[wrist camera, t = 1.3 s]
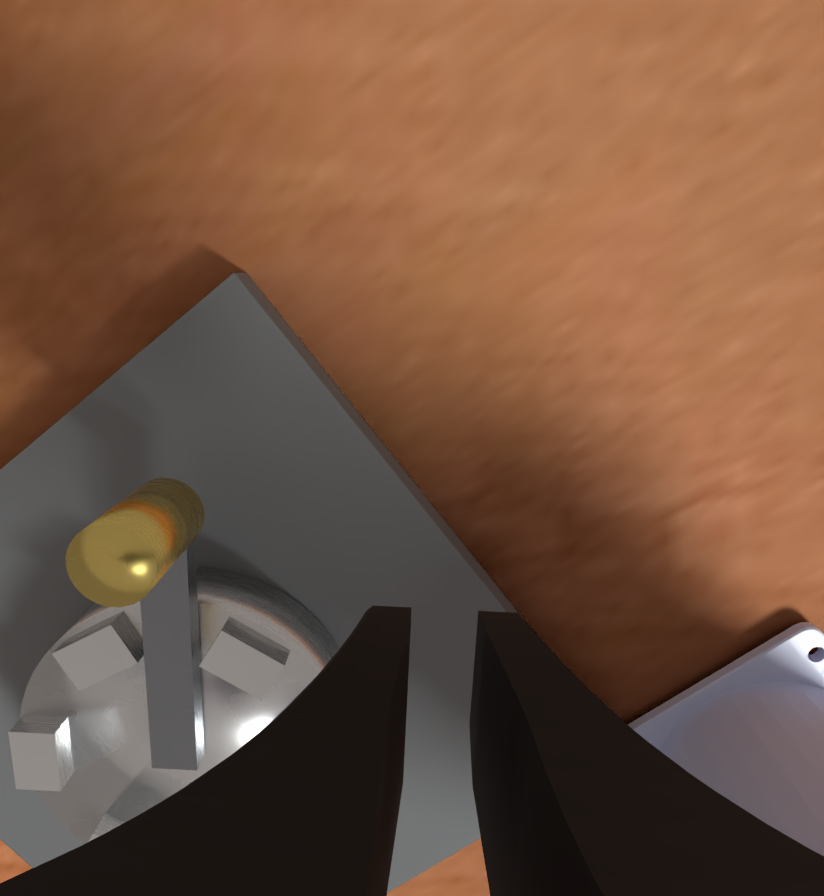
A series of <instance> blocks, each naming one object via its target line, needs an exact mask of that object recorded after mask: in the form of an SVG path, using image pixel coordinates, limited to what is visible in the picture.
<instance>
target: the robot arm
mask: <svg viewBox="0 0 824 896" xmlns="http://www.w3.org/2000/svg"><path fill="white" fill-rule="evenodd" d="M411 609H412V607H393V606H372V607H370V608H369V609H368V610H367V611H366V612H365V613H364V615H363V617H362V618H361V620H360V621H359V623H358V624H357V626H356V627H355V629H354V630H353V632H352V633H351V634H350V636H349V637H348V638H347V640H346V641H345V642H344V644H343V645H342V646H341V648H340V649H339V650H338V651H337V652H336V654H335V655H334V656H333V657H332V658H331V660H330V661H329V662H328V663H327V664H326V666H325V667H324V668H323V669H322V670H321V672H320V673H319V674H318V675H317V676H316V677H315V678H314V679H313V681H312V682H311V683H310V684H309V685H308V686H307V687H306V688H305V689H304V690H303V691H302V692H301V693H300V694H299V695H298V696H297V697H296V698H295V699H294V700H293V701H292V702H291V703H290V704H289V705H288V706H287V707H286V708H285V709H284V710H283V711H282V712H281V713H280V714H279V715H278V716H277V717H276V718H275V719H273V720H272V721H271V722H270V723H269V724H268V725H267V726H266V727H265V728H263V729H262V730H261V731H260V732H259V733H258V734H256V735H255V736H254V737H253V738H252V739H250V740H249V741H248V742H247V743H246V744H244V745H243V746H242V747H241V748H239V749H238V750H237V751H236V752H234V753H233V754H232V755H230V756H229V757H228V758H226V759H225V760H223V761H222V762H220V763H219V764H217V765H216V766H214V767H213V768H212V769H210V770H209V771H207V772H206V773H204V774H203V775H201V776H200V777H199V778H197V779H196V780H194V781H193V782H191V783H190V784H188V785H187V786H186V787H184V788H183V789H181V790H179V791H178V792H176V793H175V794H173V795H171V796H170V797H168V798H166V799H165V800H163V801H161V802H160V803H158V804H156V805H155V806H153V807H151V808H150V809H148V810H146V811H145V812H143V813H141V814H139V815H138V816H136V817H134V818H132V819H130V820H129V821H127V822H125V823H123V824H121V825H119V826H118V827H116V828H114V829H112V830H110V831H109V832H107V833H105V834H103V835H101V836H99V837H97V838H95V839H93V840H91V841H89V842H87V843H85V844H84V845H82V846H80V847H77V848H75V849H73V850H71V851H69V852H67V853H65V854H63V855H60V856H58V857H56V858H54V859H52V860H50V861H48V862H45V863H43V864H41V865H39V866H37V867H35V868H33V869H30V870H28V871H26V872H24V873H22V874H20V875H18V876H15V877H13V878H11V879H9V880H7V881H5V882H3V883H0V896H387V889H388V882H389V875H390V869H391V862H392V855H393V848H394V842H395V835H396V828H397V821H398V814H399V808H400V801H401V794H402V787H403V776H404V756H405V735H406V715H407V695H408V674H409V654H410V633H411ZM815 647H818V649H817V651H816V652H815V653H814V654H811V655H808V653H809V651H810V650H811V649H812V648H815ZM469 726H470V748H471V768H472V786H473V792H474V798H475V805H476V811H477V817H478V823H479V829H480V835H481V841H482V847H483V853H484V859H485V865H486V871H487V877H488V883H489V889H490V895H491V896H824V634H823V633H822V632H821V631H820V630H819V629H818V628H817V627H816V626H815V625H813V624H811V623H808V622H800V623H798V624H795V625H793V626H791V627H790V628H788V629H786V630H785V631H783V632H781V633H780V634H778V635H776V636H775V637H773V638H771V639H770V640H768V641H766V642H765V643H763V644H761V645H760V646H758V647H756V648H755V649H753V650H751V651H750V652H748V653H746V654H745V655H743V656H741V657H740V658H738V659H736V660H735V661H733V662H731V663H730V664H728V665H726V666H725V667H723V668H721V669H720V670H718V671H716V672H715V673H713V674H711V675H710V676H708V677H706V678H705V679H703V680H701V681H700V682H698V683H696V684H695V685H693V686H691V687H690V688H688V689H686V690H685V691H683V692H681V693H680V694H678V695H676V696H675V697H673V698H671V699H670V700H668V701H666V702H665V703H663V704H661V705H660V706H658V707H656V708H655V709H653V710H651V711H650V712H648V713H646V714H645V715H643V716H641V717H640V718H638V719H636V720H635V721H633V722H631V723H630V724H628V725H627V724H626V723H625V722H624V721H623V720H622V719H621V718H619V717H618V716H617V715H616V714H615V713H614V712H613V711H612V710H610V709H609V708H608V707H607V706H606V705H605V704H604V703H603V702H602V701H600V700H599V699H598V698H597V697H596V696H595V695H594V694H593V693H592V692H591V691H590V690H589V689H588V688H587V687H586V686H585V685H584V684H583V683H582V682H581V681H580V680H579V679H578V678H577V677H576V676H575V675H574V674H573V673H572V672H571V671H570V670H569V669H568V668H567V667H566V666H565V665H564V664H563V663H562V662H561V661H560V659H559V658H558V657H557V656H556V655H555V654H554V653H553V652H552V651H551V650H550V649H549V647H548V646H547V645H546V644H545V643H544V642H543V641H542V640H541V638H540V637H539V636H538V635H537V634H536V633H535V632H534V631H533V629H532V628H531V627H530V626H529V625H528V624H527V623H526V621H525V620H524V619H523V618H522V617H521V616H520V615H519V614H518V613H512V612H492V611H478V621H477V633H476V646H475V659H474V672H473V684H472V697H471V710H470V723H469Z"/></svg>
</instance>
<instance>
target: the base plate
mask: <svg viewBox="0 0 824 896" xmlns="http://www.w3.org/2000/svg"><path fill="white" fill-rule="evenodd" d="M155 478H173V479H176V480H179V481H181V482H183V483H185V484H187V485H188V486H190V487H191V488H192V489H193V490H194V491H195V492H196V493H197V495H198V496H199V498H200V500H201V501H202V504H203V507H204V512H205V520H204V525H203V528H202V530H201V532H200V533H199V535H198V536H197V537H196V538H195V550H196V568H208V569H217V570H224V571H228V572H233V573H237V574H241V575H245V576H247V577H250V578H253V579H256V580H259V581H261V582H264V583H266V584H268V585H270V586H272V587H274V588H276V589H278V590H280V591H281V592H283V593H284V594H286V595H287V596H289V597H291V598H292V599H294V600H295V601H297V602H298V603H299V604H300V605H302V606H303V607H304V608H305V609H306V610H308V611H309V612H310V613H311V614H312V615H313V616H314V617H315V618H316V619H317V620H318V621H319V622H320V623H321V624H322V625H323V627H324V628H325V629H326V630H327V631H328V633H329V634H330V636H331V637H332V638H333V640H334V641H335V643H336V644H337V646H338V648H339V649H340V648H341V646H342V645H343V644H344V642H345V641H346V640H347V638H348V637H349V636H350V634H351V633H352V632H353V630H354V629H355V627H356V626H357V624H358V623H359V621H360V620H361V618H362V617H363V615H364V613H365V612H366V611H367V610H368V609H369V608H370V607H372V606H393V607H412V609H411V633H410V654H409V674H408V695H407V715H406V735H405V756H404V776H403V787H402V794H401V801H400V808H399V814H398V821H397V828H396V835H395V842H394V848H393V855H392V862H391V869H390V875H389V882H388V889H387V893H388V892H390V891H391V890H393V889H395V888H396V887H398V886H400V885H402V884H403V883H405V882H407V881H408V880H410V879H412V878H413V877H415V876H417V875H418V874H420V873H422V872H424V871H425V870H427V869H429V868H430V867H432V866H434V865H435V864H437V863H439V862H440V861H442V860H444V859H446V858H447V857H449V856H451V855H452V854H454V853H456V852H457V851H459V850H461V849H462V848H464V847H466V846H468V845H469V844H471V843H473V842H474V841H476V840H478V839H479V838H481V835H480V829H479V823H478V817H477V811H476V805H475V798H474V792H473V786H472V768H471V748H470V726H469V723H470V710H471V697H472V684H473V672H474V659H475V646H476V633H477V621H478V611H492V612H512V613H518V612H517V610H516V609H515V608H514V607H513V605H512V604H511V603H510V602H509V600H508V599H507V598H506V597H505V595H504V594H503V593H502V592H501V590H500V589H499V588H498V587H497V585H496V584H495V583H494V582H493V580H492V579H491V578H490V577H489V575H488V574H487V573H486V572H485V570H484V569H483V568H482V567H481V565H480V564H479V563H478V562H477V560H476V559H475V558H474V557H473V555H472V554H471V553H470V552H469V550H468V549H467V548H466V547H465V545H464V544H463V543H462V542H461V540H460V539H459V538H458V537H457V535H456V534H455V533H454V532H453V530H452V529H451V528H450V527H449V525H448V524H447V523H446V522H445V520H444V519H443V518H442V517H441V515H440V514H439V513H438V512H437V510H436V509H435V508H434V507H433V505H432V504H431V503H430V502H429V500H428V499H427V498H426V497H425V495H424V494H423V493H422V492H421V490H420V489H419V488H418V487H417V485H416V484H415V483H414V482H413V480H412V479H411V478H410V477H409V475H408V474H407V473H406V472H405V470H404V469H403V468H402V467H401V465H400V464H399V463H398V462H397V460H396V459H395V458H394V457H393V455H392V454H391V453H390V452H389V450H388V449H387V448H386V447H385V445H384V444H383V443H382V442H381V440H380V439H379V438H378V437H377V435H376V434H375V433H374V432H373V430H372V429H371V428H370V427H369V425H368V424H367V423H366V422H365V420H364V419H363V418H362V417H361V415H360V414H359V413H358V412H357V410H356V409H355V408H354V407H353V405H352V404H351V403H350V402H349V400H348V399H347V398H346V397H345V395H344V394H343V393H342V392H341V390H340V389H339V388H338V387H337V385H336V384H335V383H334V382H333V380H332V379H331V378H330V377H329V375H328V374H327V373H326V371H325V370H324V369H323V368H322V366H321V365H320V364H319V363H318V361H317V360H316V359H315V358H314V356H313V355H312V354H311V353H310V351H309V350H308V349H307V348H306V346H305V345H304V344H303V343H302V341H301V340H300V339H299V338H298V336H297V335H296V334H295V333H294V331H293V330H292V329H291V328H290V326H289V325H288V324H287V323H286V321H285V320H284V319H283V318H282V316H281V315H280V314H279V313H278V311H277V310H276V309H275V308H274V306H273V305H272V304H271V303H270V301H269V300H268V299H267V298H266V296H265V295H264V294H263V293H262V291H261V290H260V289H259V288H258V286H257V285H256V284H255V283H254V281H253V280H252V279H251V278H250V276H249V275H248V274H247V273H233V274H232V275H231V276H229V277H228V278H227V279H226V280H225V281H223V282H222V283H221V284H220V285H219V286H217V287H216V288H215V289H214V290H213V291H212V292H210V293H209V294H208V295H207V296H206V297H204V298H203V299H202V300H201V301H200V302H199V303H197V304H196V305H195V306H194V307H193V308H191V309H190V310H189V311H188V312H187V313H185V314H184V315H183V316H182V317H181V318H180V319H178V320H177V321H176V322H175V323H174V324H172V325H171V326H170V327H169V328H168V329H166V330H165V331H164V332H163V333H162V334H161V335H159V336H158V337H157V338H156V339H155V340H153V341H152V342H151V343H150V344H149V345H147V346H146V347H145V348H144V349H143V350H142V351H140V352H139V353H138V354H137V355H136V356H134V357H133V358H132V359H131V360H130V361H129V362H127V363H126V364H125V365H124V366H123V367H121V368H120V369H119V370H118V371H117V372H115V373H114V374H113V375H112V376H111V377H110V378H108V379H107V380H106V381H105V382H104V383H102V384H101V385H100V386H99V387H98V388H96V389H95V390H94V391H93V392H92V393H91V394H89V395H88V396H87V397H86V398H85V399H83V400H82V401H81V402H80V403H79V404H77V405H76V406H75V407H74V408H73V409H72V410H70V411H69V412H68V413H67V414H66V415H64V416H63V417H62V418H61V419H60V420H59V421H57V422H56V423H55V424H54V425H53V426H51V427H50V428H49V429H48V430H47V431H45V432H44V433H43V434H42V435H41V436H40V437H38V438H37V439H36V440H35V441H34V442H32V443H31V444H30V445H29V446H28V447H26V448H25V449H24V450H23V451H22V452H21V453H19V454H18V455H17V456H16V457H15V458H13V459H12V460H11V461H10V462H9V463H7V464H6V465H5V466H4V467H3V468H2V469H0V839H1V840H2V841H3V842H4V843H5V844H6V845H7V846H9V847H10V848H11V849H12V850H13V851H14V852H15V853H16V854H17V855H19V856H20V857H21V858H22V859H23V860H24V861H25V862H26V863H28V864H29V865H30V866H31V867H32V868H35V867H37V866H39V865H41V864H43V863H45V862H48V861H50V860H52V859H54V858H56V857H58V856H60V855H63V854H65V853H67V852H69V851H71V850H73V849H75V848H77V847H80V846H82V845H84V844H85V843H84V842H82V841H81V840H80V839H78V838H77V837H76V836H75V835H74V834H73V833H71V832H70V831H69V830H68V829H67V828H66V827H65V826H64V825H63V824H62V823H61V822H60V821H59V820H58V819H57V818H56V816H55V815H54V814H53V813H52V812H51V811H50V809H49V808H48V807H47V805H46V804H45V802H44V801H43V799H42V798H41V796H40V795H39V793H38V791H37V790H23V789H16V786H15V778H14V771H13V763H12V756H11V749H10V741H9V734H8V731H9V730H10V729H11V728H12V727H13V726H14V725H15V724H16V723H17V721H18V720H19V719H20V713H21V705H22V701H23V697H24V694H25V690H26V687H27V685H28V682H29V680H30V678H31V676H32V674H33V671H34V670H35V668H36V667H37V665H38V664H39V662H40V661H41V659H42V658H43V656H44V655H45V654H46V653H47V652H48V651H49V650H50V648H51V647H52V646H53V645H54V644H55V643H56V642H57V641H58V640H59V639H60V638H61V637H62V636H63V635H64V634H65V633H66V632H67V631H68V630H69V629H70V628H71V627H72V626H73V625H74V624H75V623H76V622H77V621H78V620H79V619H80V618H81V617H82V616H83V615H84V614H85V613H86V612H87V611H88V610H89V609H90V608H91V607H92V606H93V605H94V604H95V602H93V601H91V600H89V599H88V598H86V597H85V596H84V595H82V594H81V593H80V592H79V591H78V590H77V589H76V587H75V586H74V585H73V583H72V581H71V580H70V578H69V575H68V572H67V569H66V552H67V549H68V546H69V544H70V542H71V541H72V539H73V538H74V537H75V536H76V535H77V534H78V533H79V532H80V531H82V530H83V529H84V528H86V527H87V526H88V525H90V524H91V523H92V522H94V521H95V520H96V519H98V518H99V517H100V516H102V515H103V514H104V513H106V512H107V511H108V510H110V509H111V508H112V507H114V506H115V505H116V504H117V503H119V502H120V501H121V500H123V499H124V498H125V497H127V496H128V495H129V494H131V493H132V492H133V491H135V490H136V489H137V488H139V487H140V486H141V485H143V484H144V483H146V482H147V481H149V480H152V479H155ZM518 614H519V613H518ZM519 615H520V614H519ZM520 616H521V615H520Z"/></svg>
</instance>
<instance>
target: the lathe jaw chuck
mask: <svg viewBox="0 0 824 896" xmlns="http://www.w3.org/2000/svg"><path fill="white" fill-rule="evenodd" d="M204 520H205V512H204V507H203V504H202V501H201V500H200V498H199V496H198V495H197V493H196V492H195V491H194V490H193V489H192V488H191V487H190V486H188V485H187V484H185V483H183V482H181V481H179V480H176V479H173V478H155V479H152V480H149V481H147V482H146V483H144V484H143V485H141V486H140V487H139V488H137V489H136V490H135V491H133V492H132V493H131V494H129V495H128V496H127V497H125V498H124V499H123V500H121V501H120V502H119V503H117V504H116V505H115V506H114V507H112V508H111V509H110V510H108V511H107V512H106V513H104V514H103V515H102V516H100V517H99V518H98V519H96V520H95V521H94V522H92V523H91V524H90V525H88V526H87V527H86V528H84V529H83V530H82V531H80V532H79V533H78V534H77V535H76V536H75V537H74V538H73V539H72V541H71V542H70V544H69V546H68V549H67V552H66V569H67V572H68V575H69V578H70V580H71V581H72V583H73V585H74V586H75V587H76V589H77V590H78V591H79V592H80V593H81V594H82V595H84V596H85V597H86V598H88V599H89V600H91V601H93V602H95V604H94V605H93V606H92V607H91V608H90V609H89V610H88V611H87V612H86V613H85V614H84V615H83V616H82V617H81V618H80V619H79V620H78V621H77V622H76V623H75V624H74V625H73V626H72V627H71V628H70V629H69V630H68V631H67V632H66V633H65V634H64V635H63V636H62V637H61V638H60V639H59V640H58V641H57V642H56V643H55V644H54V645H53V646H52V647H51V648H50V650H49V651H48V652H47V653H46V654H45V655H44V656H43V658H42V659H41V661H40V662H39V664H38V665H37V667H36V668H35V670H34V671H33V674H32V676H31V678H30V680H29V682H28V685H27V687H26V690H25V694H24V697H23V701H22V705H21V713H20V719H19V720H18V721H17V723H16V724H15V725H14V726H13V727H12V728H11V729H10V730H9V731H8V734H9V741H10V749H11V756H12V763H13V771H14V778H15V786H16V789H23V790H37V791H38V793H39V795H40V796H41V798H42V799H43V801H44V802H45V804H46V805H47V807H48V808H49V809H50V811H51V812H52V813H53V814H54V815H55V816H56V818H57V819H58V820H59V821H60V822H61V823H62V824H63V825H64V826H65V827H66V828H67V829H68V830H69V831H70V832H71V833H73V834H74V835H75V836H76V837H77V838H78V839H80V840H81V841H82V842H84V843H87V842H89V841H91V840H93V839H95V838H97V837H99V836H101V835H103V834H105V833H107V832H109V831H110V830H112V829H114V828H116V827H118V826H119V825H121V824H123V823H125V822H127V821H129V820H130V819H132V818H134V817H136V816H138V815H139V814H141V813H143V812H145V811H146V810H148V809H150V808H151V807H153V806H155V805H156V804H158V803H160V802H161V801H163V800H165V799H166V798H168V797H170V796H171V795H173V794H175V793H176V792H178V791H179V790H181V789H183V788H184V787H186V786H187V785H188V784H190V783H191V782H193V781H194V780H196V779H197V778H199V777H200V776H201V775H203V774H204V773H206V772H207V771H209V770H210V769H212V768H213V767H214V766H216V765H217V764H219V763H220V762H222V761H223V760H225V759H226V758H228V757H229V756H230V755H232V754H233V753H234V752H236V751H237V750H238V749H239V748H241V747H242V746H243V745H244V744H246V743H247V742H248V741H249V740H250V739H252V738H253V737H254V736H255V735H256V734H258V733H259V732H260V731H261V730H262V729H263V728H265V727H266V726H267V725H268V724H269V723H270V722H271V721H272V720H273V719H275V718H276V717H277V716H278V715H279V714H280V713H281V712H282V711H283V710H284V709H285V708H286V707H287V706H288V705H289V704H290V703H291V702H292V701H293V700H294V699H295V698H296V697H297V696H298V695H299V694H300V693H301V692H302V691H303V690H304V689H305V688H306V687H307V686H308V685H309V684H310V683H311V682H312V681H313V679H314V678H315V677H316V676H317V675H318V674H319V673H320V672H321V670H322V669H323V668H324V667H325V666H326V664H327V663H328V662H329V661H330V660H331V658H332V657H333V656H334V655H335V654H336V652H337V651H338V650H339V648H338V646H337V644H336V643H335V641H334V640H333V638H332V637H331V636H330V634H329V633H328V631H327V630H326V629H325V628H324V627H323V625H322V624H321V623H320V622H319V621H318V620H317V619H316V618H315V617H314V616H313V615H312V614H311V613H310V612H309V611H308V610H306V609H305V608H304V607H303V606H302V605H300V604H299V603H298V602H297V601H295V600H294V599H292V598H291V597H289V596H287V595H286V594H284V593H283V592H281V591H280V590H278V589H276V588H274V587H272V586H270V585H268V584H266V583H264V582H261V581H259V580H256V579H253V578H250V577H247V576H245V575H241V574H237V573H233V572H228V571H224V570H217V569H208V568H196V550H195V538H196V537H197V536H198V535H199V533H200V532H201V530H202V528H203V525H204Z"/></svg>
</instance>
